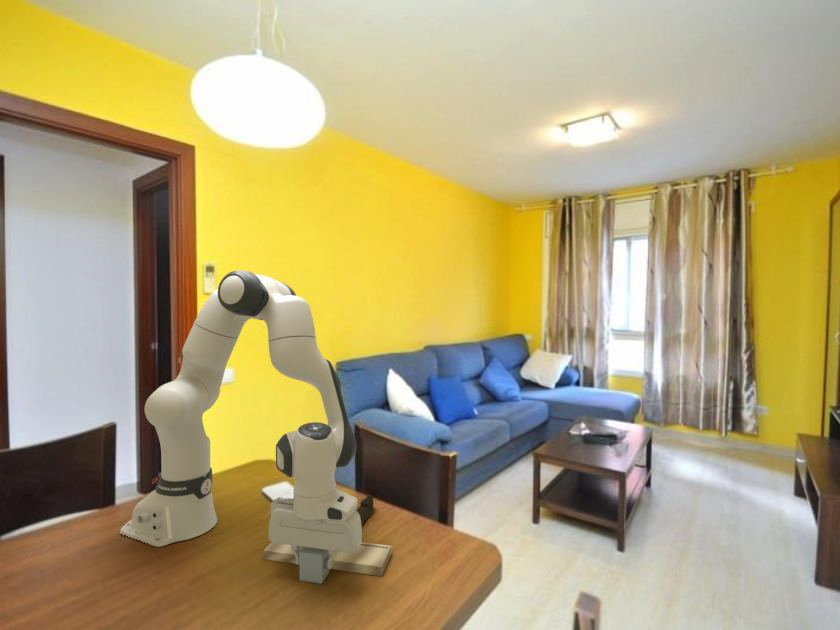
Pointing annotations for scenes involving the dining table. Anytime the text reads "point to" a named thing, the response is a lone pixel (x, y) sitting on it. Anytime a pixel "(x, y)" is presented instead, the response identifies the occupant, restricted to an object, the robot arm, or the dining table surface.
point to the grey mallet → (313, 565)
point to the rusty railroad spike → (365, 508)
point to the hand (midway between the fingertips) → (314, 565)
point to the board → (341, 557)
